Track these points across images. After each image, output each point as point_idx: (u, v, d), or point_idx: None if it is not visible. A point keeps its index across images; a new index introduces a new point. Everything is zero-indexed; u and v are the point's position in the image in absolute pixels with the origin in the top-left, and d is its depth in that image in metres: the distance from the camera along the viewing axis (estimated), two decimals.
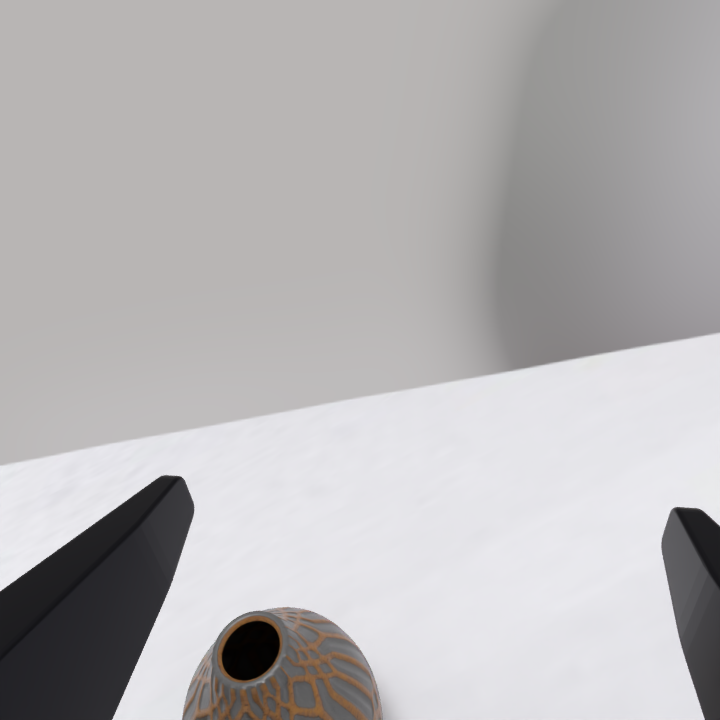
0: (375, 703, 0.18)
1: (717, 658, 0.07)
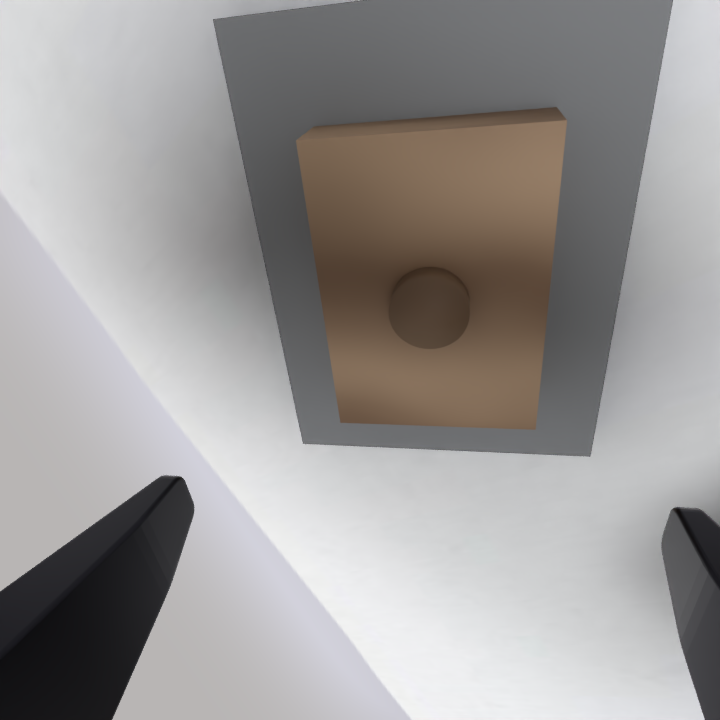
0: None
1: (717, 658, 0.07)
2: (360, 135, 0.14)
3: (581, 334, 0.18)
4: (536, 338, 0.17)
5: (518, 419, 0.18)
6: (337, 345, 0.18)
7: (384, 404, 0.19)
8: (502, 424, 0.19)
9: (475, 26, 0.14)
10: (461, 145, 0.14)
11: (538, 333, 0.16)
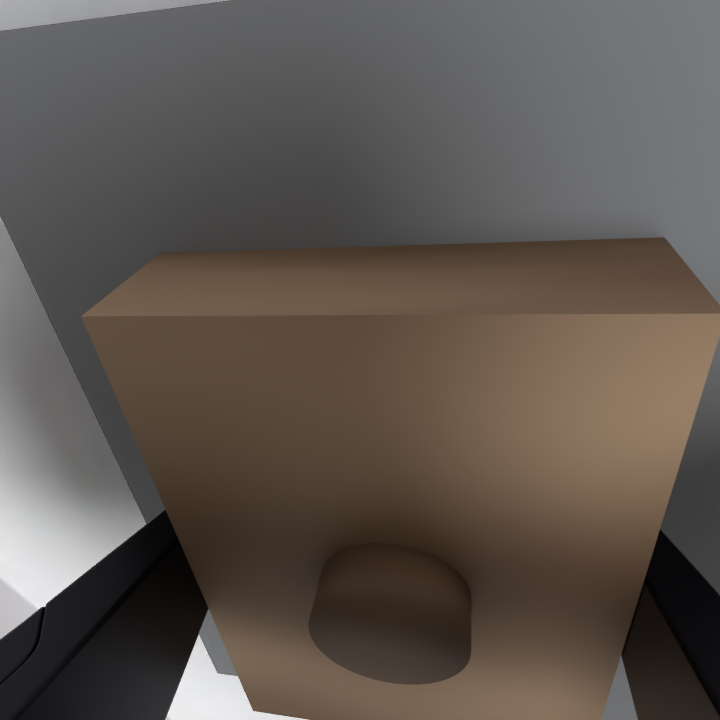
0: None
1: (643, 650, 0.07)
2: (220, 313, 0.06)
3: None
4: (601, 661, 0.08)
5: None
6: (231, 625, 0.10)
7: (322, 701, 0.11)
8: None
9: (486, 62, 0.06)
10: (452, 348, 0.06)
11: (606, 655, 0.08)
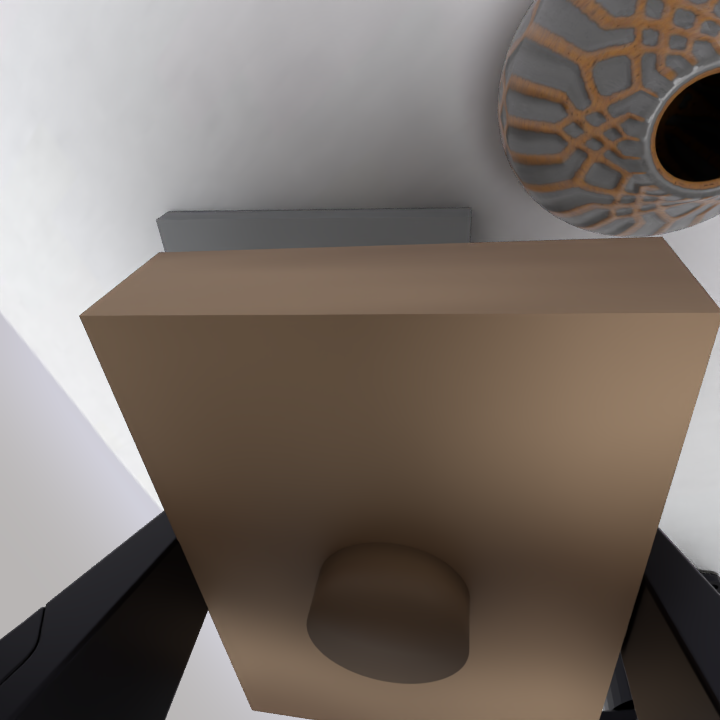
0: None
1: (643, 650, 0.07)
2: (218, 312, 0.06)
3: None
4: (599, 660, 0.08)
5: None
6: (230, 625, 0.10)
7: (321, 700, 0.11)
8: None
9: (340, 241, 0.20)
10: (450, 347, 0.06)
11: (604, 654, 0.08)
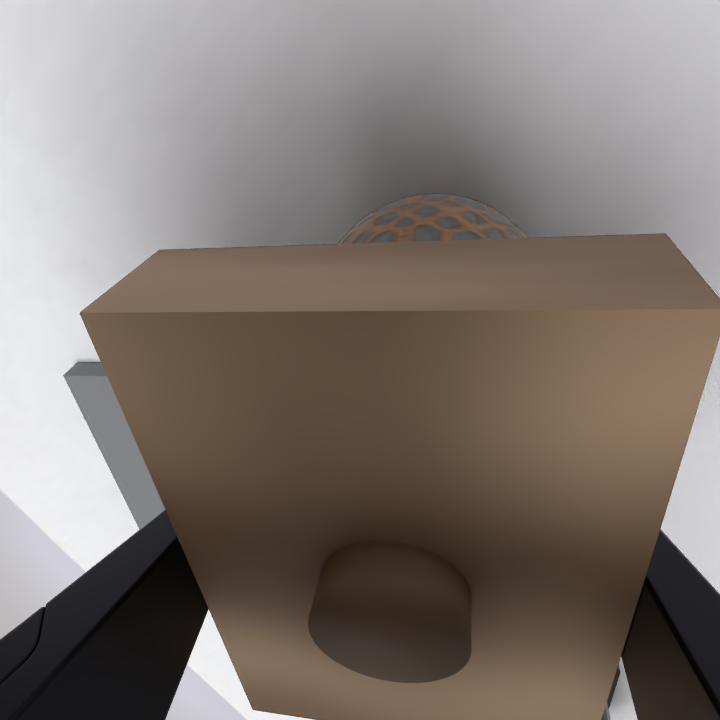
0: None
1: (643, 650, 0.07)
2: (219, 309, 0.06)
3: None
4: (602, 659, 0.08)
5: None
6: (231, 624, 0.10)
7: (322, 700, 0.11)
8: None
9: None
10: (452, 344, 0.06)
11: (607, 653, 0.08)
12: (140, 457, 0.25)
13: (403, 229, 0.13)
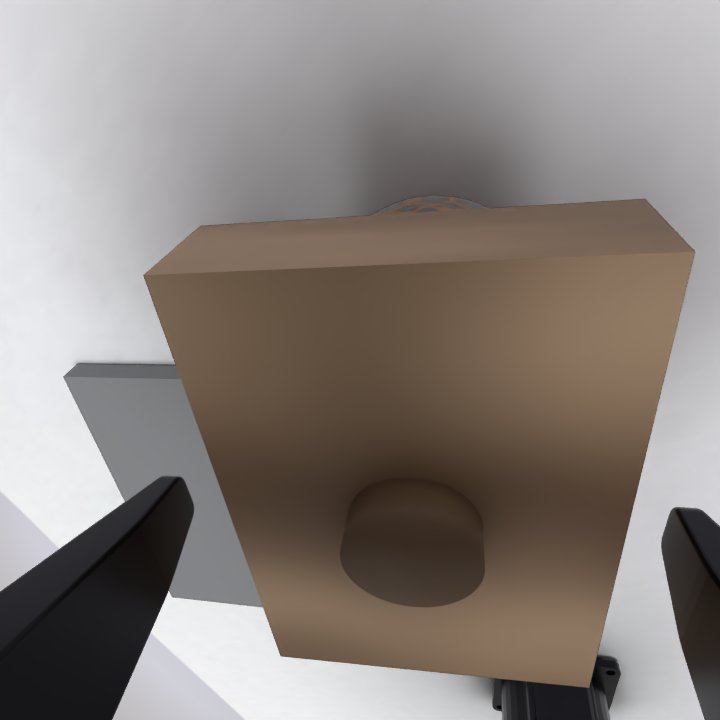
0: None
1: (717, 658, 0.07)
2: (266, 268, 0.07)
3: None
4: (599, 582, 0.10)
5: (561, 674, 0.11)
6: (264, 569, 0.11)
7: (346, 641, 0.12)
8: (535, 678, 0.12)
9: None
10: (467, 291, 0.07)
11: (603, 576, 0.09)
12: (139, 458, 0.25)
13: None
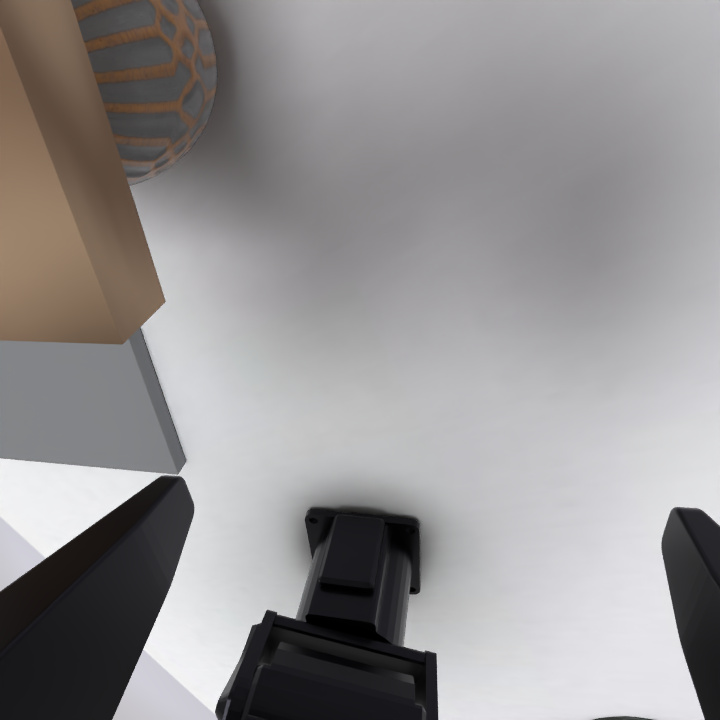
0: (168, 31, 0.14)
1: (717, 658, 0.07)
2: None
3: (130, 392, 0.26)
4: (43, 171, 0.10)
5: (91, 326, 0.12)
6: None
7: None
8: (74, 336, 0.12)
9: None
10: None
11: (41, 160, 0.10)
12: None
13: None
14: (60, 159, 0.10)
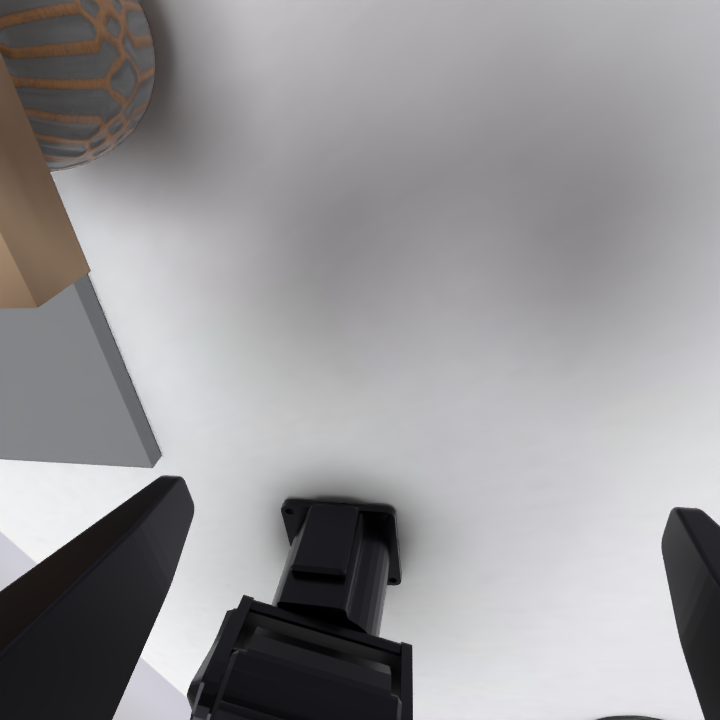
0: (90, 8, 0.14)
1: (717, 658, 0.07)
2: None
3: (99, 384, 0.27)
4: None
5: (5, 290, 0.12)
6: None
7: None
8: None
9: None
10: None
11: None
12: None
13: None
14: None
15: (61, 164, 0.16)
